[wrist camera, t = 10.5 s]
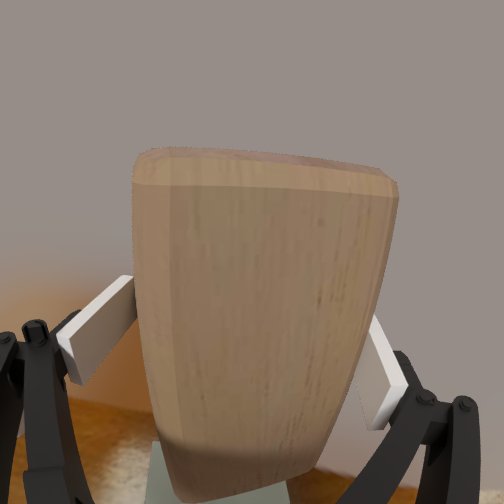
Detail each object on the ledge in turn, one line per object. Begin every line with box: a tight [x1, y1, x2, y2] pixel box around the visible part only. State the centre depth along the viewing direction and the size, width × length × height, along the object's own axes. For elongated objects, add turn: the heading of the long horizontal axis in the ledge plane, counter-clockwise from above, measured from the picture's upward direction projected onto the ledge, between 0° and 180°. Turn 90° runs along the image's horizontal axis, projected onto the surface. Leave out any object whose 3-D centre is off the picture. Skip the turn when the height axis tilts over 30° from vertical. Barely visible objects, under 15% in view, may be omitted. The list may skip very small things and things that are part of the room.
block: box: [132, 147, 399, 504], centre depth 16 cm, size 10×10×20 cm
